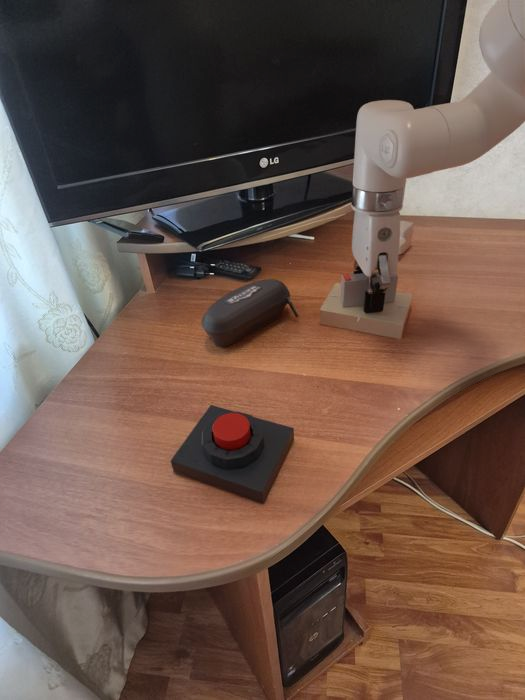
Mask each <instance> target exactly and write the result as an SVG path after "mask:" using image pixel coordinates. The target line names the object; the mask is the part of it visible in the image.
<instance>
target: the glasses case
mask: <svg viewBox="0 0 525 700" xmlns="http://www.w3.org/2000/svg"><path fill="white" fill-rule="evenodd" d="M287 305H288V306H289V307H290V309H291V311H292V314H293V315H294V317H295V318H299V313H298V311H297V309H296V308H295V305H294V303H293V301H292V300H291V293H290V291H289V289H288V287H287V285H285V283H284V282H282V281H281V280H278V279H276V278H267V279H266V278H265V279H260V280H256V281H252V282H250V283H247V284H244V285H242V286H240V287H238V288H235V289H234V290H232V291H230V292H228V293H226V294H224V295H223V296H222V297H220V298H218V299H217V300H216V301H214V302H213V303H212V304H211V305H210V306H209V307H208V309H207V310H206V311H205V312H204V314H203V316H202V318H201V327H202V328H203V330H204V331H205V333H206V334H207V335H208V337H209V339H210V340H211V342H212V343H213V344H214V345H215V346H218V347H220V348H227V347H229V346H231V345H233V344H235V343H237V342H238V341H241V340H243V339H244V338H245V337H247V336H249V335H252V334H253V333H255V332H256V331H258V330H259V329H262V328H264V327H265V326H267V325H268V324H270V323H272V322H273V321H275V320H277V319H278V318H279V317H281V316H282V315H283V313H284V311H285V309H286V306H287Z"/></svg>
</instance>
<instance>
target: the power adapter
mask: <svg viewBox="0 0 525 700" xmlns="http://www.w3.org/2000/svg"><path fill="white" fill-rule="evenodd" d="M413 234H414V223H413V222H411V221H408V220H402V219H400V243H399V255H403V254H404V253H405V252H406V251H407V250H408V249H410V246H411V245H412V239H413Z"/></svg>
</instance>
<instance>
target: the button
mask: <svg viewBox="0 0 525 700" xmlns="http://www.w3.org/2000/svg"><path fill="white" fill-rule="evenodd" d="M213 435H214V440H215V443H216V444H217V445H218V446H219V447H220V448H222V449H224V450H237V449H240V448H242V447H244V446H245V445H246V444H247V443H248V442H249V440H250V437H251V432H250V424H249V421H248V419H247V418H246V417H245V416H243V415H241V414H238V413H228V414H225V415H222V416H220V417H219V418H218V419H217V420H216V421H215V422H214V424H213Z"/></svg>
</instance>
